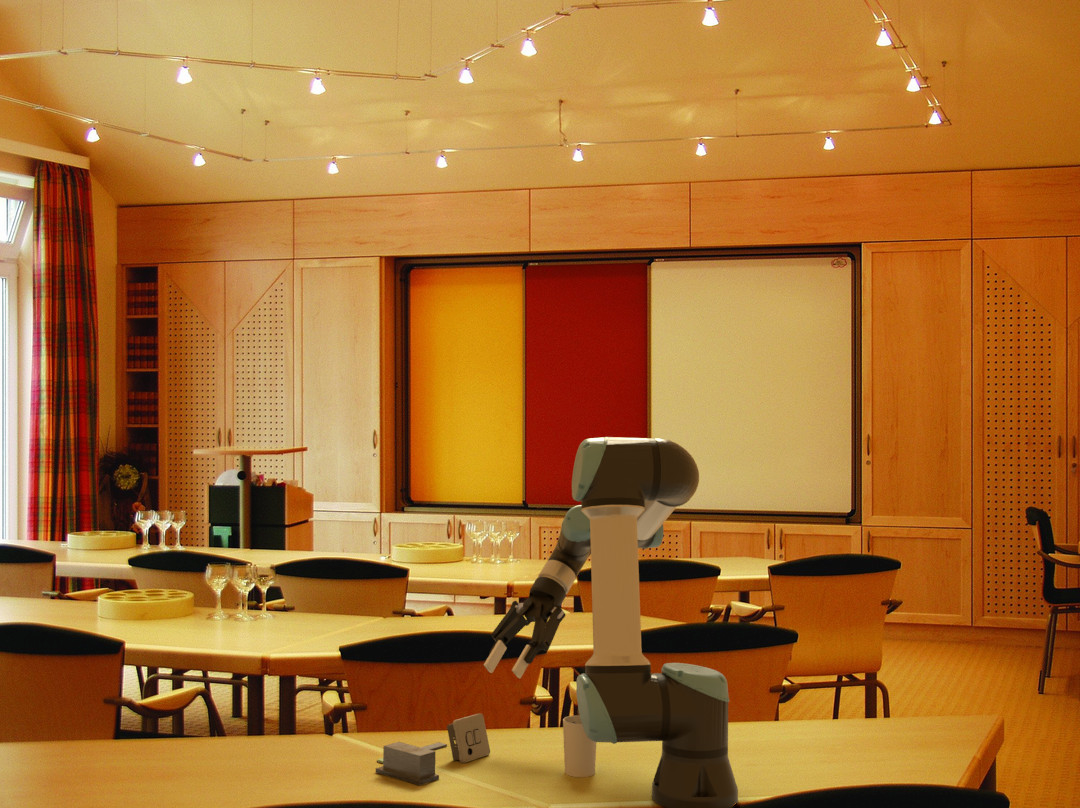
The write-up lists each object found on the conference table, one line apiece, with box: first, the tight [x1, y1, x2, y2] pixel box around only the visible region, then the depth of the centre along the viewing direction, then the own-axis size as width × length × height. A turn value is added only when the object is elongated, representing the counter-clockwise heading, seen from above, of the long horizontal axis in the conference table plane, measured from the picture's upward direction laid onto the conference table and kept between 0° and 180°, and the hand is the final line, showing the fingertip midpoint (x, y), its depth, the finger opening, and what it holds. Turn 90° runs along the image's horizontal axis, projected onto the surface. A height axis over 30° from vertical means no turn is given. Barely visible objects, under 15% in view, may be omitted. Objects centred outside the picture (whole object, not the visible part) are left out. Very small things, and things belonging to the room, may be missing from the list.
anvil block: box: [375, 741, 440, 786], centre depth 204 cm, size 12×5×5 cm, turn 50°
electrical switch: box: [446, 713, 491, 764], centre depth 217 cm, size 8×5×8 cm, turn 141°
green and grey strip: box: [376, 741, 448, 764], centre depth 218 cm, size 2×17×1 cm, turn 140°
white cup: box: [562, 715, 597, 778], centre depth 207 cm, size 7×7×10 cm
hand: (501, 671), depth 225 cm, fingers open, 7 cm apart
